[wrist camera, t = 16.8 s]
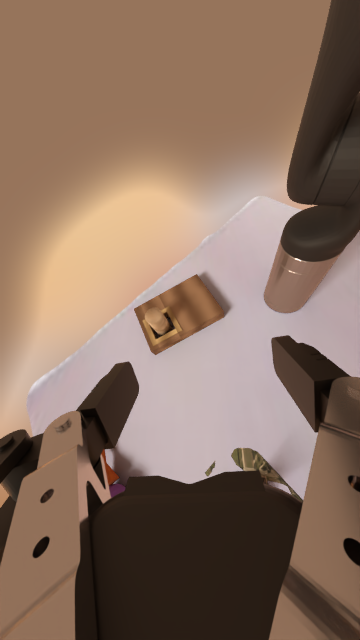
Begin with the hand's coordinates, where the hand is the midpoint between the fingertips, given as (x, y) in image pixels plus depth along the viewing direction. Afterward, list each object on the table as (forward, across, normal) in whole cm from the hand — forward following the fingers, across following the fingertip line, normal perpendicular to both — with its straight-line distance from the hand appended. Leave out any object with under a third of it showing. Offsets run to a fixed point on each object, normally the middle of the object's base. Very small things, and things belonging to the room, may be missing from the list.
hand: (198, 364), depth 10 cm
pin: (+36, +11, +10) cm, 39 cm away
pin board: (+38, +7, +8) cm, 40 cm away
